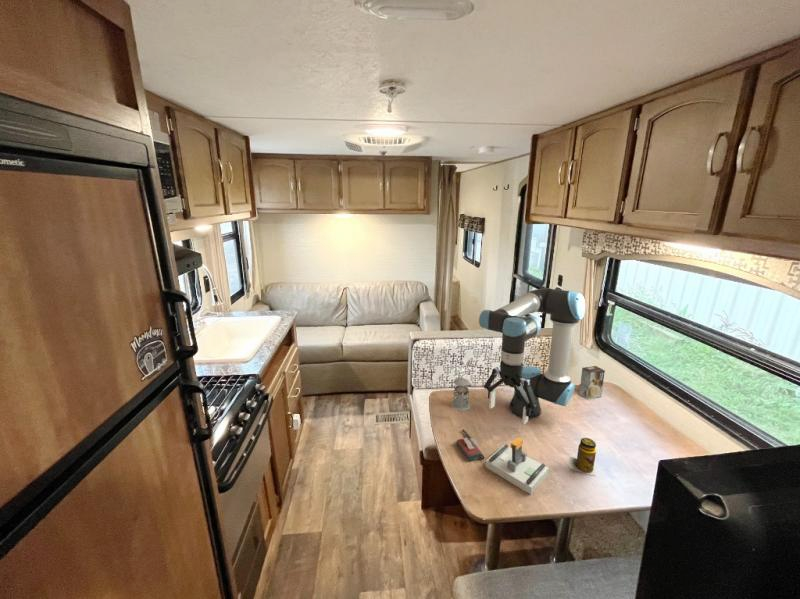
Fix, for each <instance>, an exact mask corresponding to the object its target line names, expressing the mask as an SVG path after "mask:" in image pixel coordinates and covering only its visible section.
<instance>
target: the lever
mask: <svg viewBox="0 0 800 599" xmlns="http://www.w3.org/2000/svg"><path fill="white" fill-rule="evenodd" d="M523 444H524V439H523V438H520V437H516V438H515V439H513V441H511V442H510V448H512V462H514V463H516V464H517V465H518V464H519V463H520V462H521V461H522V460H523V456H522V452H523ZM517 465H516V466H517Z"/></svg>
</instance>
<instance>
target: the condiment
mask: <svg viewBox="0 0 800 599" xmlns="http://www.w3.org/2000/svg"><path fill="white" fill-rule="evenodd" d="M596 446H597V443H596V442H595V441H594V440H593V439H591V438H588V437H582V438H581V439H580V443H579V445H578V448H577V456H576V458H575V457H573V456H570V462H569V469H571V470H574V471H578V472H580V473H583V474H586V475H590V476H593V477H595V461H596V460H595V459H596V453H597V449H596Z"/></svg>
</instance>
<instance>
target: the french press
mask: <svg viewBox="0 0 800 599" xmlns="http://www.w3.org/2000/svg"><path fill="white" fill-rule="evenodd" d="M460 365H461V367H463V366H464V365H465V362H464V361H460ZM453 383H454V384H455V385H456V386H454V390H453V402H452V403H451V407H452V408H453V409H454V410H457V411H460V412H461V411H464V412H465V411H467V410H470V408H471V404H470V402H469V400H470V398H469V396H470V392H469V387H468V386H469V385H470V383H471V382H470V380H468V379H467V378H464V377H458V378H455V379H454V381H453Z"/></svg>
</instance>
